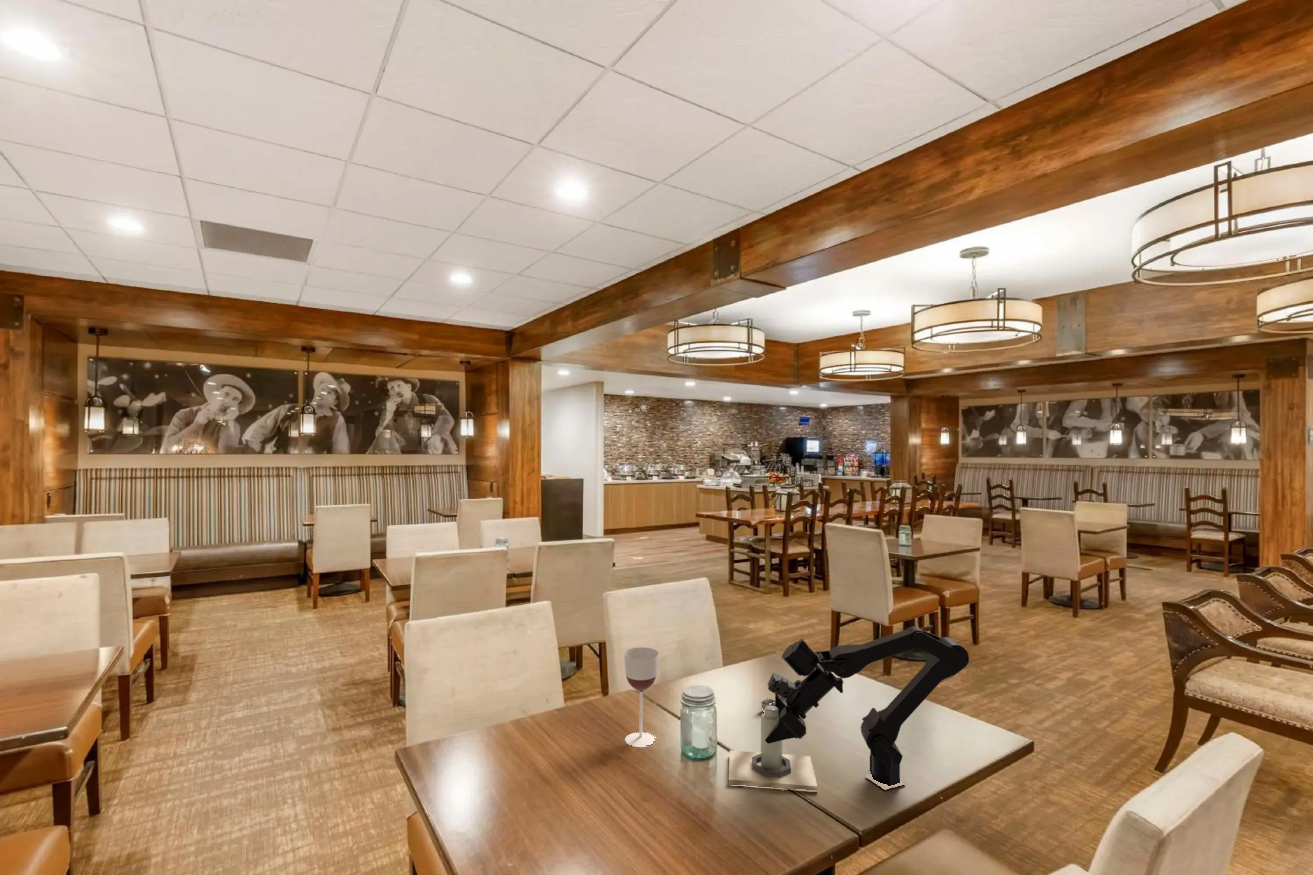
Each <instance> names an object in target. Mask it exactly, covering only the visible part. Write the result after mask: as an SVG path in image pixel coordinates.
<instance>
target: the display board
mask: <svg viewBox="0 0 1313 875" xmlns="http://www.w3.org/2000/svg"><path fill="white" fill-rule="evenodd" d="M728 765H729V766H728V767H729V768H728V769H729V770H728V786H729V785H746V786H758V787H773V788H783V789H786V788H787V789H806V790H817V791H818V784H817V779H816V774H815V771H814V766H813V763H812V759H811V756H810V755H801V754H800V755H799V754H788V753H787V754H786V753H782V769H780V770H768V769H764V768H762V767H761V752H760V751H759V752H756V751H743V750H729V764H728Z"/></svg>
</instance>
